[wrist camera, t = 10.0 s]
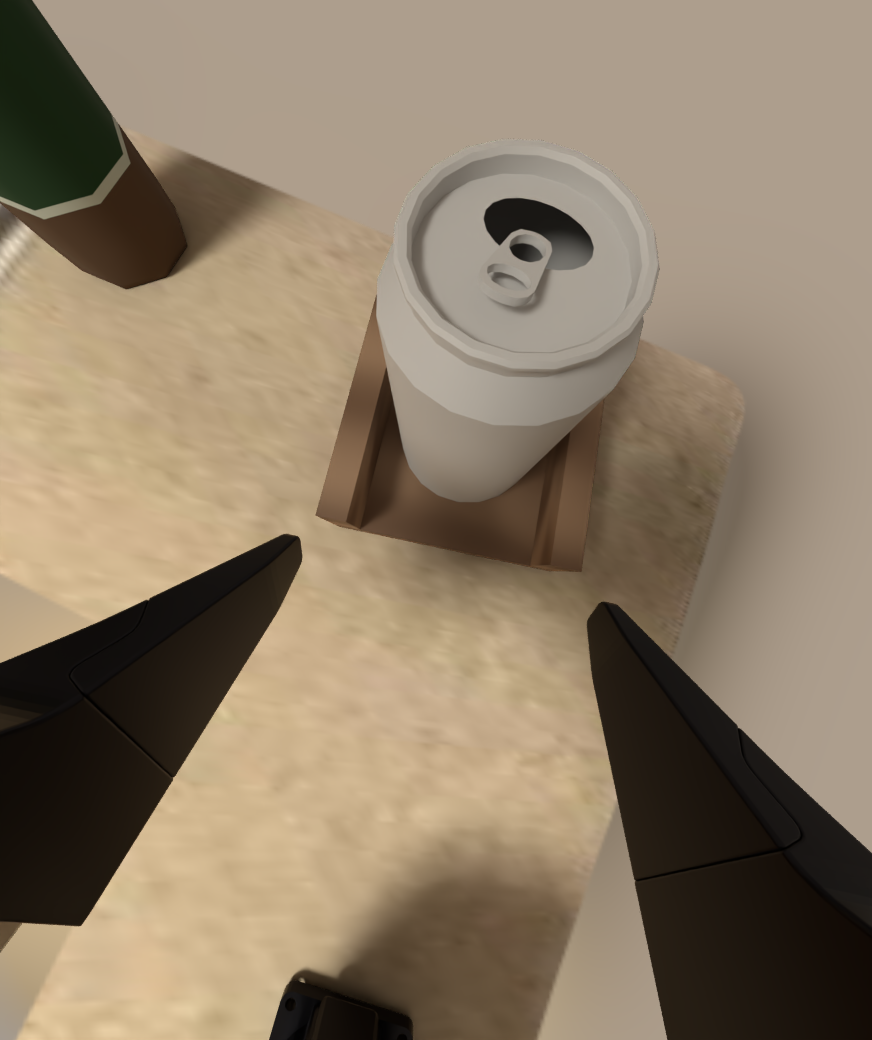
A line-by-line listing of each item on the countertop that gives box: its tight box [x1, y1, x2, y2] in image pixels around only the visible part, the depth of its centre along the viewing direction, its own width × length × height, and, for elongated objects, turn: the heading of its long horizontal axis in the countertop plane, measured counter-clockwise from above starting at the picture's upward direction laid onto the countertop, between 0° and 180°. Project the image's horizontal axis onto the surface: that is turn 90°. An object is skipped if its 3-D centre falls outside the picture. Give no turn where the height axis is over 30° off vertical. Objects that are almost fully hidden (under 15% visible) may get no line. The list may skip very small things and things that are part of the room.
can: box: [376, 139, 660, 502], centre depth 13 cm, size 8×8×12 cm
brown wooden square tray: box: [316, 295, 604, 572], centre depth 18 cm, size 13×13×4 cm
